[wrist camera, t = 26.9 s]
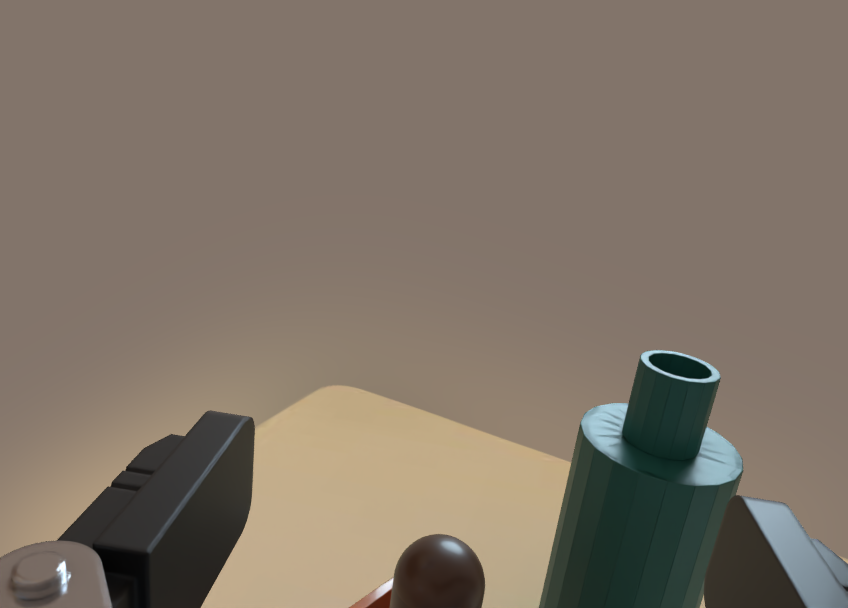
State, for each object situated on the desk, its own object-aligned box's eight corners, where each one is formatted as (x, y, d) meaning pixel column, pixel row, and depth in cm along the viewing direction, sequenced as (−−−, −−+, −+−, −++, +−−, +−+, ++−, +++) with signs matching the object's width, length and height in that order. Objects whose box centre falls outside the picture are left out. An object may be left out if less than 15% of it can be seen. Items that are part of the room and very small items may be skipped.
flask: (572, 590, 43) (637, 324, 37) (691, 664, 38) (786, 374, 33) (505, 657, 37) (569, 355, 31) (636, 753, 33) (738, 422, 27)
